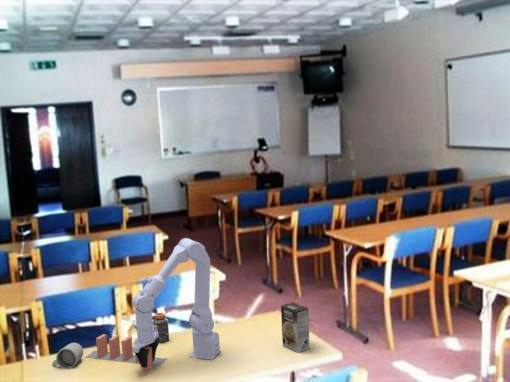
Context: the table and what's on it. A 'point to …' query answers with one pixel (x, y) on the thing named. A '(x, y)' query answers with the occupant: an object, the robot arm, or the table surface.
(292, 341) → the coffee box
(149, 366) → the domino
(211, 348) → the robot arm
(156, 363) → the runner mat
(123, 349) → the domino
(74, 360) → the ceramic mug
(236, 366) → the table surface
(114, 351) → the domino
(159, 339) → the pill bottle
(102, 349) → the domino
